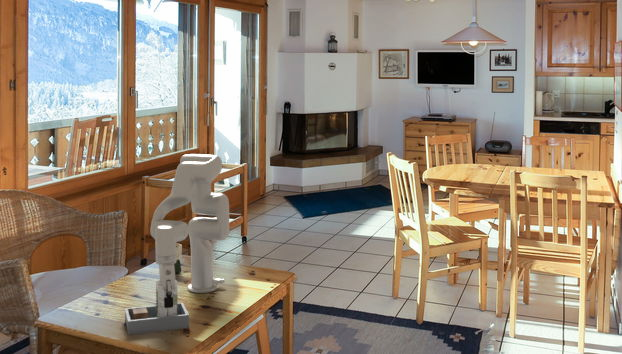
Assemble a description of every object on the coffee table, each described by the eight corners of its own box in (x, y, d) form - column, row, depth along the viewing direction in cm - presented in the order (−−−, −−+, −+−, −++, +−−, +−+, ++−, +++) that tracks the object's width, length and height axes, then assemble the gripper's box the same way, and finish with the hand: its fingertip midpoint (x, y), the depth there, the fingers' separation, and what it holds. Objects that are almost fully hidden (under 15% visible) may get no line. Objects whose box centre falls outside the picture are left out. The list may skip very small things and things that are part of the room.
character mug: (186, 274, 328) (185, 247, 326) (171, 276, 324) (171, 249, 322) (177, 268, 337) (176, 241, 335) (163, 270, 333) (162, 243, 331)
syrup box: (167, 313, 272) (166, 277, 269) (178, 316, 268) (177, 280, 266) (156, 317, 267) (155, 280, 265) (167, 321, 264) (166, 283, 261)
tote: (183, 314, 277) (182, 302, 276) (189, 327, 264) (188, 314, 263) (125, 321, 270) (124, 308, 269) (128, 334, 257) (127, 321, 256)
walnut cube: (146, 320, 268) (146, 307, 267) (148, 325, 263) (147, 312, 262) (133, 321, 266) (132, 309, 265) (134, 326, 261) (133, 313, 261)
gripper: (179, 264, 257) (180, 310, 260) (172, 251, 273) (173, 295, 276) (158, 265, 254) (160, 312, 257) (153, 253, 271) (154, 297, 274)
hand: (167, 303), depth 267 cm, fingers closed on syrup box, 7 cm apart
